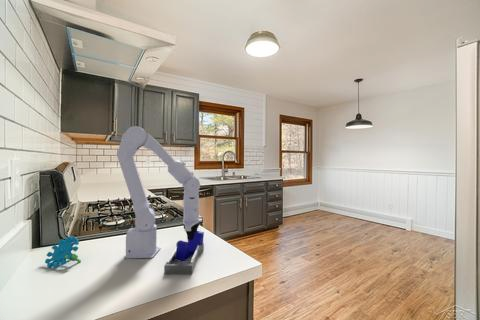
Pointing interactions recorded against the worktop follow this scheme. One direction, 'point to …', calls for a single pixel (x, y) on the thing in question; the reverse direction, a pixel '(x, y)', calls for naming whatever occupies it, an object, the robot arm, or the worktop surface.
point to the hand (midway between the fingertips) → (191, 243)
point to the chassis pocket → (182, 268)
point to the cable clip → (188, 246)
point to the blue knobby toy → (63, 252)
